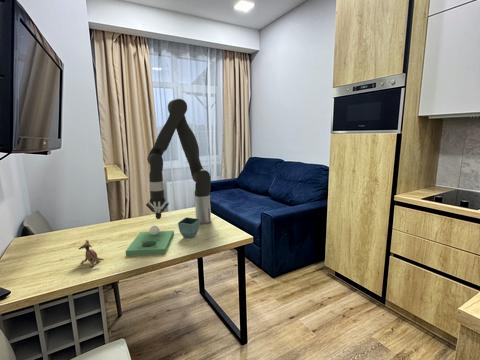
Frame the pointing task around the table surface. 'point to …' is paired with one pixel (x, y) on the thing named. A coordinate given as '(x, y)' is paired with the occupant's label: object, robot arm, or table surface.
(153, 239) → the putting mat
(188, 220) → the flower pot
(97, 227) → the table surface
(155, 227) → the ball
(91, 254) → the dinosaur figurine
